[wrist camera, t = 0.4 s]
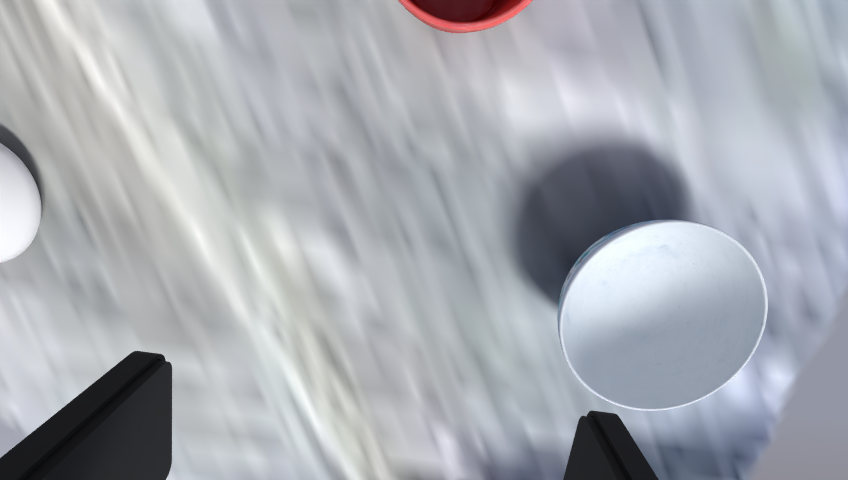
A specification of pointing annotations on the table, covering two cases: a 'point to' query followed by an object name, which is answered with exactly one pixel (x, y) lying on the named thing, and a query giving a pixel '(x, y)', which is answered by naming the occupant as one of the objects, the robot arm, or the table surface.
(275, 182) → the table surface
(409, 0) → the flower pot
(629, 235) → the chinaware
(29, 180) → the flower in vase
